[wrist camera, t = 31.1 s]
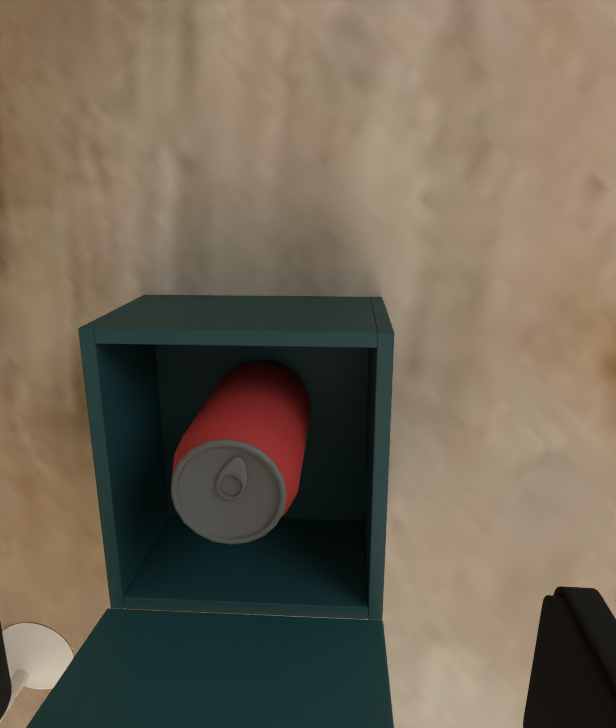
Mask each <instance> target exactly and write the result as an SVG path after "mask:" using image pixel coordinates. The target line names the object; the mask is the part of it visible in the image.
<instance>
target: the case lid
mask: <svg viewBox="0 0 616 728" xmlns="http://www.w3.org/2000/svg"><path fill="white" fill-rule="evenodd" d="M26 728H394V724H393V714H392V704H391V695H390V685H389V675H388V666H387V656H386V646H385V636H384V627H383V621H381V620H359V619H336V618H313V617H290V616H267V615H244V614H221V613H198V612H175V611H152V610H129V609H107V610H106V611H105V613H104V614H103V616H102V617H101V619H100V620H99V622H98V623H97V625H96V626H95V627H94V629H93V630H92V632H91V633H90V635H89V636H88V638H87V639H86V641H85V642H84V644H83V645H82V647H81V648H80V649H79V651H78V652H77V654H76V655H75V657H74V658H73V660H72V661H71V663H70V664H69V666H68V667H67V669H66V670H65V671H64V673H63V674H62V676H61V677H60V679H59V680H58V682H57V683H56V685H55V686H54V688H53V689H52V690H51V692H50V693H49V695H48V696H47V698H46V699H45V701H44V702H43V704H42V705H41V707H40V708H39V710H38V711H37V712H36V714H35V715H34V717H33V718H32V720H31V721H30V723H29V724H28V726H27V727H26Z"/></svg>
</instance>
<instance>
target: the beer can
mask: <svg viewBox="0 0 616 728" xmlns="http://www.w3.org/2000/svg"><path fill="white" fill-rule="evenodd" d="M310 413H311V407H310V401H309V396H308V394H307V392H306V390H305V388H304V386H303V384H302V382H301V381H300V380H299V379H298V378H297V377H296V376H295V375H293V374H292V373H291V372H290V371H289V370H287V369H285V368H283V367H281V366H279V365H277V364H273V363H267V362H261V361H259V362H251V363H244V364H242V365H240V366H238V367H236V368H234V369H232V370H230V371H229V372H228V373H227V374H226V375H225V376H224V377H223V378H222V379H221V380H220V381H219V383H218V384H217V386H216V387H215V389H214V390H213V392H212V393H211V395H210V396H209V398H208V399H207V401H206V402H205V404H204V405H203V407H202V408H201V410H200V411H199V413H198V414H197V416H196V417H195V419H194V420H193V422H192V423H191V425H190V426H189V428H188V429H187V431H186V432H185V434H184V435H183V437H182V439H181V441H180V443H179V445H178V448H177V450H176V452H175V455H174V463H173V474H172V484H171V495H172V499H173V503H174V507H175V509H176V511H177V512H178V514H179V516H180V517H181V519H182V520H183V522H184V523H185V524H186V525H187V526H188V527H190V528H191V529H192V530H193V531H194V532H195V533H196V534H198V535H200V536H202V537H204V538H206V539H209V540H211V541H213V542H218V543H224V544H230V545H233V544H242V543H249V542H251V541H254V540H256V539H258V538H261V537H263V536H265V535H266V534H267V533H268V532H269V531H270V530H271V529H273V528H274V527H275V526H276V525H277V523H278V521H279V519H280V518H281V517H282V516H283V515H284V514H285V513H286V511H287V510H288V508H289V507H290V505H291V503H292V501H293V500H294V498H295V496H296V494H297V493H298V488H299V482H300V476H301V469H302V463H303V457H304V451H305V444H306V438H307V432H308V426H309V419H310Z"/></svg>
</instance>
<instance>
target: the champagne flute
mask: <svg viewBox="0 0 616 728" xmlns="http://www.w3.org/2000/svg"><path fill="white" fill-rule="evenodd" d="M2 634H3V640H4V646H5V651H6V657H7V663H8V668H9V674H10V679H11V685H12V693H11V699H10V703H9V705H8V708H7V710H6V712H5V713H4V715H3V717H4V716H5V714H6V713H7V711H8V709H9V708H10V706H11V705H12V703H13V702H14V700H15V699H16V697H17V696H18V694H19V693H20V691H21V690H22V688H23V687H24V686H25V687H28V688H32V689H40V690H46V689H52V688H54V686H55V685H56V683H57V682H58V680H59V679H60V677H61V676H62V674H63V673H64V671H65V670H66V669H67V667H68V666H69V664H70V663H71V661H72V660H73V658H74V657H73V653H72V651H71V648H70V647H69V645H68V644H67V642H66V641H65V640H64V639H63V638H62V637H61V636H60V635H59V634H58V633H56V632H55V631H53V630H51V629H49V628H48V627H45V626H42V625H39V624H34V623H20V624H15V625H12V626H10V627H8V628H6V629H5V630H3V631H2ZM3 717H2V718H1V720H2V719H3ZM1 720H0V722H1Z"/></svg>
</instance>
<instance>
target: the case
mask: <svg viewBox="0 0 616 728" xmlns="http://www.w3.org/2000/svg"><path fill="white" fill-rule="evenodd" d="M78 330H79V338H80V347H81V355H82V364H83V373H84V381H85V390H86V398H87V407H88V415H89V424H90V433H91V441H92V450H93V458H94V467H95V475H96V484H97V493H98V501H99V510H100V518H101V527H102V535H103V544H104V552H105V561H106V570H107V578H108V587H109V595H110V604H111V608H116V609H124V608H125V609H143V610H166V611H189V612H212V613H235V614H258V615H281V616H304V617H327V618H350V619H369V620H382V614H383V590H384V566H385V542H386V518H387V494H388V469H389V445H390V421H391V397H392V373H393V349H394V331H393V328H392V325H391V322H390V319H389V316H388V313H387V310H386V307H385V304H384V301H383V299H382V297H317V296H210V295H143V296H141V297H139V298H137V299H135V300H133V301H131V302H129V303H127V304H125V305H123V306H121V307H119V308H118V309H116V310H114V311H112V312H110V313H108V314H106V315H104V316H102V317H100V318H98V319H96V320H94V321H92V322H90V323H88V324H86V325H84V326H82V327H80V328H79V329H78ZM259 361H261V362H267V363H273V364H277V365H279V366H281V367H283V368H285V369H287V370H289V371H290V372H291V373H292V374H293V375H295V376H296V377H297V378H298V379H299V380H300V381H301V382H302V384H303V386H304V388H305V390H306V392H307V394H308V396H309V401H310V407H311V413H310V419H309V426H308V432H307V438H306V444H305V451H304V457H303V463H302V469H301V476H300V482H299V488H298V493H297V494H296V496H295V498H294V500H293V501H292V503H291V505H290V507H289V508H288V510H287V511H286V513H285V514H284V515H283V516H282V517H281V518H280V519H279V521H278V523H277V525H276V526H275V527H274V528H273V529H271V530H270V531H269V532H268V533H267V534H266V535H265V536H263V537H261V538H258V539H256V540H254V541H251V542H249V543H242V544H233V545H230V544H224V543H218V542H213V541H211V540H209V539H206V538H204V537H202V536H200V535H198V534H196V533H195V532H194V531H193V530H192V529H191V528H190V527H188V526H187V525H186V524H185V523H184V522H183V520H182V519H181V517H180V516H179V514H178V512H177V511H176V509H175V507H174V503H173V499H172V495H171V484H172V474H173V463H174V455H175V452H176V450H177V448H178V445H179V443H180V441H181V439H182V437H183V435H184V434H185V432H186V431H187V429H188V428H189V426H190V425H191V423H192V422H193V420H194V419H195V417H196V416H197V414H198V413H199V411H200V410H201V408H202V407H203V405H204V404H205V402H206V401H207V399H208V398H209V396H210V395H211V393H212V392H213V390H214V389H215V387H216V386H217V384H218V383H219V381H220V380H221V379H222V378H223V377H224V376H225V375H226V374H227V373H228V372H229V371H230V370H232V369H234V368H236V367H238V366H240V365H242V364H244V363H251V362H259Z"/></svg>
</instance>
